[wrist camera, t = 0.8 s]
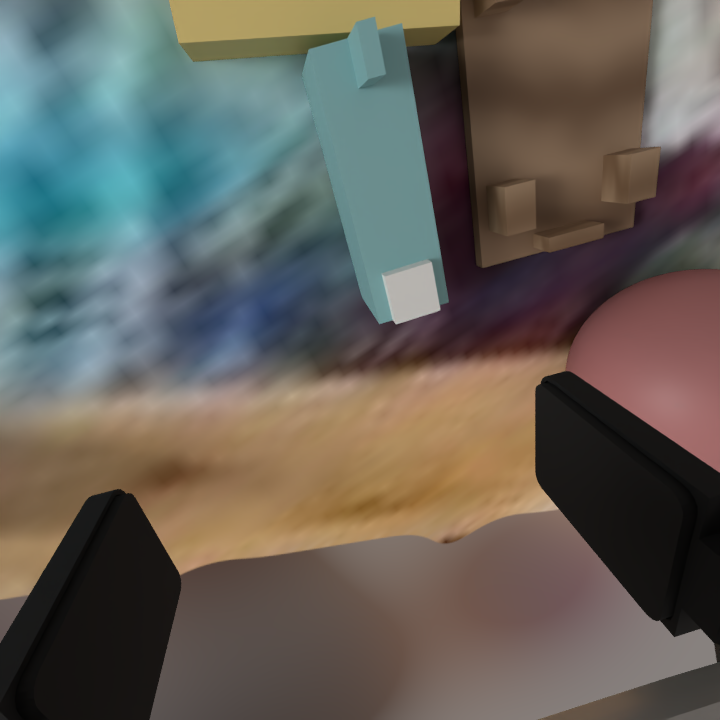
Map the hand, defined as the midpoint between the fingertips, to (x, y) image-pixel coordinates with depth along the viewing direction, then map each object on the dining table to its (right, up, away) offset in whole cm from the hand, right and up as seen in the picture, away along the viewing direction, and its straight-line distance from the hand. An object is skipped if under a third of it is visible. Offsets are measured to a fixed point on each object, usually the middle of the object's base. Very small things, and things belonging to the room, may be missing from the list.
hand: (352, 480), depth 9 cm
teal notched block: (+1, +14, +18) cm, 23 cm away
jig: (+12, +20, +17) cm, 29 cm away
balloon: (+22, +3, +28) cm, 35 cm away
